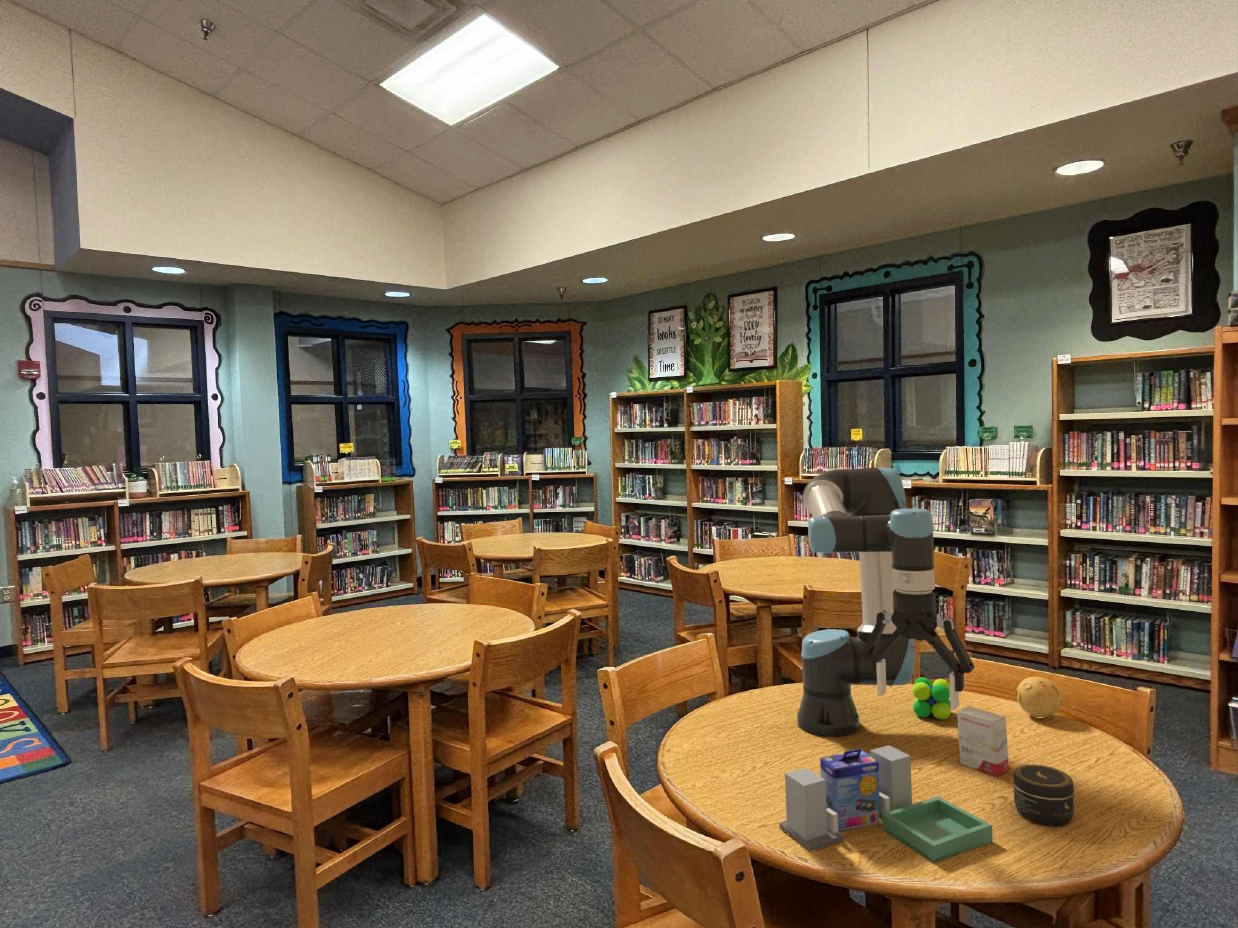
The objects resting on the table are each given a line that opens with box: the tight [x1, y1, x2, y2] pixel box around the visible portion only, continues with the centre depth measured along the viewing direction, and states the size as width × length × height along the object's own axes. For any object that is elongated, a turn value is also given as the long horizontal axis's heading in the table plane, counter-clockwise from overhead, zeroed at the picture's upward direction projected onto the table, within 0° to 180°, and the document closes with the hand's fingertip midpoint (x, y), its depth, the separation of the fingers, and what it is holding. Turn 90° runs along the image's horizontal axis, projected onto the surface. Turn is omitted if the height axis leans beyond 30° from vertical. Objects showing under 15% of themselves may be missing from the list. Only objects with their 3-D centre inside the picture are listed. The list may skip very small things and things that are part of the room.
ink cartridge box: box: [819, 747, 880, 832], centre depth 138 cm, size 10×6×14 cm, turn 105°
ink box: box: [956, 706, 1010, 777], centre depth 158 cm, size 9×5×12 cm, turn 33°
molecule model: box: [912, 676, 951, 721], centre depth 188 cm, size 9×9×9 cm
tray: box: [881, 796, 994, 864], centre depth 132 cm, size 12×14×3 cm
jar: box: [1012, 764, 1075, 828], centre depth 138 cm, size 10×10×8 cm
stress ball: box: [1015, 676, 1063, 718], centre depth 184 cm, size 10×10×10 cm
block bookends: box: [778, 745, 913, 852], centre depth 138 cm, size 9×26×11 cm, turn 114°
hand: (917, 700), depth 140 cm, fingers open, 13 cm apart
